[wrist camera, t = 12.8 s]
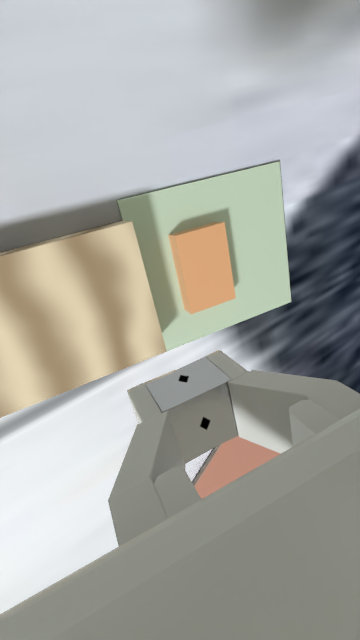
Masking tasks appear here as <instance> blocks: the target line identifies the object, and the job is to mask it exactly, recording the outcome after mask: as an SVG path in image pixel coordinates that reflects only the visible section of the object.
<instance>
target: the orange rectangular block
mask: <svg viewBox="0 0 360 640" xmlns="http://www.w3.org/2000/svg"><path fill="white" fill-rule="evenodd" d="M168 236H169V241H170V245H171V250H172V254H173V259H174V264H175V268H176V273H177V277H178V282H179V286H180V291H181V296H182V300H183V305H184V309H185V310H186V311H187V312H189V313H190V314H194V313H196V312H199V311H202V310H205V309H207V308H210V307H213V306H216V305H219V304H221V303H224V302H227V301H230V300H232V299H235V298H236V296H235V289H234V282H233V276H232V269H231V262H230V255H229V249H228V242H227V235H226V228H225V222H213V223H210V224H206V225H202V226H199V227H195V228H192V229H188V230H184V231H181V232H177V233H173V234H170V235H168Z"/></svg>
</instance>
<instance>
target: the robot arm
mask: <svg viewBox="0 0 360 640" xmlns="http://www.w3.org/2000/svg"><path fill="white" fill-rule="evenodd" d="M127 392H128V396H129V398H130V401H131V404H132V407H133V410H134V412H135V415H136V418H137V421H138V423H139V424H138V425H137V427H136V429H135V432H134V435H133V437H132V440H131V442H130V445H129V448H128V450H127V453H126V455H125V458H124V461H123V463H122V466H121V468H120V471H119V474H118V476H117V479H116V481H115V484H114V487H113V489H112V492H111V494H110V497H109V500H108V502H109V506H110V511H111V515H112V519H113V524H114V528H115V533H116V537H117V541H118V546H119V547H117V548H115V549H114V550H112V551H110V552H108V553H107V554H105V555H103V556H101V557H100V558H98V559H96V560H95V561H93V562H91V563H89V564H88V565H86V566H84V567H82V568H81V569H79V570H77V571H75V572H74V573H72V574H70V575H68V576H67V577H65V578H63V579H61V580H60V581H58V582H56V583H54V584H53V585H51V586H49V587H47V588H46V589H44V590H42V591H40V592H39V593H37V594H35V595H33V596H32V597H30V598H28V599H26V600H25V601H23V602H21V603H19V604H18V605H16V606H14V607H12V608H11V609H9V610H7V611H5V612H4V613H2V614H0V640H360V394H359V393H357V392H355V391H354V390H352V389H350V388H348V387H347V386H345V385H343V384H341V383H340V382H338V381H334V380H327V379H319V378H311V377H303V376H296V375H288V374H280V373H272V372H265V371H257V370H252V371H250V372H248V371H247V370H246V369H244V368H243V367H242V366H240V365H239V364H238V363H236V362H235V361H234V360H232V359H231V358H230V357H228V356H227V355H226V354H224V353H223V352H222V351H219V350H218V351H216V352H213V353H211V354H209V355H207V356H205V357H203V358H201V359H199V360H197V361H195V362H193V363H191V364H188V365H186V366H184V367H182V368H180V369H178V370H174V371H172V372H169V373H167V374H165V375H162V376H160V377H157V378H155V379H152V380H150V381H148V382H145V383H144V384H143V383H142V384H140V385H138V386H136V387H133V388H131V389H129V390H127ZM237 436H239V437H241V438H243V439H246V440H248V441H251V442H253V443H256V444H258V445H261V446H263V447H265V448H268V449H270V450H273V451H275V452H278V453H280V455H278V456H276V457H274V458H273V459H271V460H269V461H267V462H266V463H264V464H262V465H260V466H259V467H257V468H255V469H253V470H252V471H250V472H248V473H246V474H245V475H243V476H241V477H239V478H238V479H236V480H234V481H233V482H231V483H229V484H227V485H226V486H224V487H222V488H220V489H219V490H217V491H215V492H213V493H212V494H210V495H208V496H206V497H205V498H203V499H201V498H200V496H199V494H198V492H197V491H196V489H195V487H194V485H193V484H192V482H191V480H190V478H189V477H188V475H187V473H186V472H185V464H186V463H187V462H189V461H191V460H193V459H194V458H196V457H198V456H200V455H202V454H203V453H205V452H207V451H209V450H210V449H212V448H214V447H216V446H218V445H220V444H222V443H224V442H226V441H229V440H231V439H233V438H235V437H237Z"/></svg>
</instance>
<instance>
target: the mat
mask: <svg viewBox="0 0 360 640" xmlns="http://www.w3.org/2000/svg"><path fill="white" fill-rule="evenodd" d="M117 203H118V206H119V210H120V214H121V217H122V221H132V222H133V226H134V230H135V234H136V237H137V241H138V245H139V249H140V253H141V256H142V260H143V264H144V268H145V271H146V275H147V279H148V283H149V286H150V290H151V294H152V298H153V302H154V305H155V309H156V313H157V317H158V320H159V324H160V328H161V332H162V336H163V339H164V343H165V347H166V351H169V350H171V349H174V348H176V347H179V346H181V345H184V344H186V343H189V342H191V341H194V340H196V339H199V338H201V337H204V336H206V335H209V334H211V333H214V332H217V331H219V330H222V329H224V328H227V327H229V326H232V325H234V324H237V323H239V322H242V321H244V320H247V319H249V318H252V317H254V316H257V315H259V314H262V313H264V312H267V311H269V310H272V309H274V308H277V307H279V306H282V305H284V304H287V303H289V302H291V293H290V281H289V269H288V257H287V245H286V233H285V221H284V209H283V197H282V185H281V173H280V161H279V162H274V163H270V164H266V165H262V166H258V167H254V168H250V169H245V170H241V171H237V172H233V173H229V174H225V175H221V176H216V177H212V178H208V179H204V180H200V181H196V182H191V183H187V184H183V185H179V186H175V187H171V188H167V189H162V190H158V191H154V192H150V193H146V194H142V195H138V196H133V197H129V198H125V199H121V200H117ZM213 222H225V228H226V235H227V242H228V249H229V255H230V262H231V269H232V276H233V282H234V289H235V296H236V298H235V299H232V300H230V301H227V302H224V303H221V304H219V305H216V306H213V307H210V308H207V309H205V310H202V311H199V312H196V313H194V314H190V313H189V312H187V311H186V310H185V309H184V305H183V300H182V296H181V291H180V286H179V282H178V277H177V273H176V268H175V264H174V259H173V254H172V250H171V245H170V241H169V236H168V235H170V234H173V233H177V232H181V231H184V230H188V229H192V228H195V227H199V226H202V225H206V224H210V223H213Z"/></svg>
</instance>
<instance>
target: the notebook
mask: <svg viewBox="0 0 360 640" xmlns="http://www.w3.org/2000/svg"><path fill="white" fill-rule="evenodd" d="M278 455H280V453H278V452H275V451H273V450H270V449H268V448H265V447H263V446H261V445H258V444H256V443H253V442H251V441H248V440H246V439H243V438H241V437H239V436H237V437H235V438H233V439H231V440H229V441H226V442H224V443H222V444H220V445H218V446H216V447H215V448H214V450H213V451H212V453H211V454H210V456H209V458H208V459H207V461H206V462H205V464H204V465H203V467H202V469H201V470H200V472H199V473H198V475H197V476H196V478H195V480H194V481H193V483H192V484H193V485H194V487H195V489H196V491H197V492H198V494H199V496H200V498H201V499H203V498H205V497H206V496H208V495H210V494H212V493H213V492H215V491H217V490H219V489H220V488H222V487H224V486H226V485H227V484H229V483H231V482H233V481H234V480H236V479H238V478H239V477H241V476H243V475H245V474H246V473H248V472H250V471H252V470H253V469H255V468H257V467H259V466H260V465H262V464H264V463H266V462H267V461H269V460H271V459H273V458H274V457H276V456H278Z"/></svg>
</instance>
